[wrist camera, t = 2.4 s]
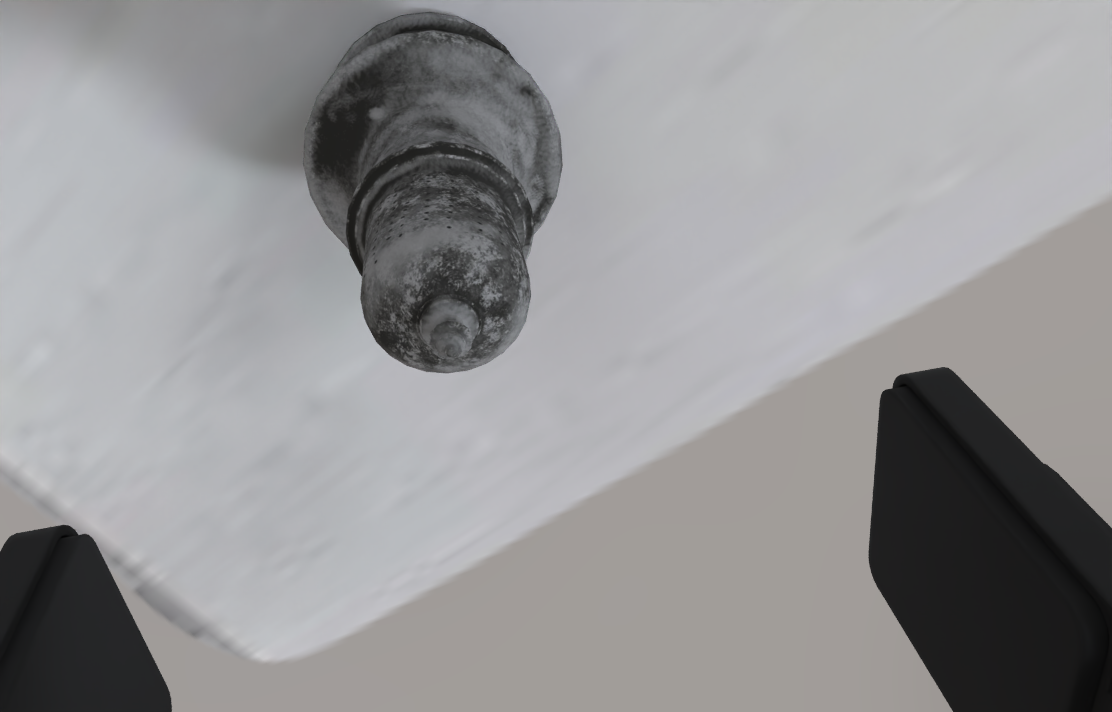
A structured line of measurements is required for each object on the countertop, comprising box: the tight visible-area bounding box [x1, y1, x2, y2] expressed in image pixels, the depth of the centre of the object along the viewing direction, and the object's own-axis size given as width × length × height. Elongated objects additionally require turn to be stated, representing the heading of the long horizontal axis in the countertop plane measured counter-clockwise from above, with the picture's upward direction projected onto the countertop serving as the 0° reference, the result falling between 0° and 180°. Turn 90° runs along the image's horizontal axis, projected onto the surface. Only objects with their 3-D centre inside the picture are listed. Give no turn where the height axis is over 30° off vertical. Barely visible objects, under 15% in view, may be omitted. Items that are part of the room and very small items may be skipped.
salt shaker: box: [303, 12, 563, 373], centre depth 19 cm, size 6×6×12 cm
